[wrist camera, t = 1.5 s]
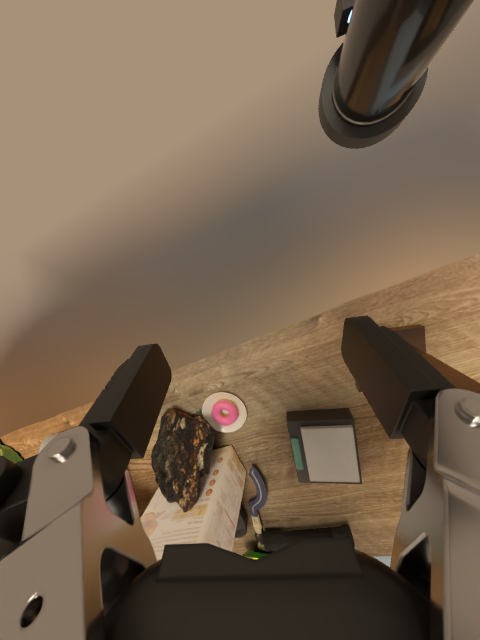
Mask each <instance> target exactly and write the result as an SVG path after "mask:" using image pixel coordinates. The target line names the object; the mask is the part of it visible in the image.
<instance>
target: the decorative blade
mask: <svg viewBox="0 0 480 640" xmlns="http://www.w3.org/2000/svg"><path fill="white" fill-rule="evenodd" d="M248 475H249V476H250V477H251V478H252V479H253V480H254V483H255V485H256V489H257V497H256V498H255V499H253V500H249V507H250V512H251V518H252V522H253V524H252V525H253V527H254V529H255V536H256V539H257V542H258V545H257V546H258V548H259V549H261V550H263V551H266V550H265V548H264V544H263V534H262V530H261V529H262V525H261V523H260V518H259V514H258V511H257V509H258V510H260V509H261V508H262V507H263V506H264V505H265V503H266V500H267V491H266V487H265V484H264V482H263V479H262V477H261V476H260V474H259V472H258V471H257V470H256V469H255V468H254V466H252V468H251V470H250V472H249V474H248Z"/></svg>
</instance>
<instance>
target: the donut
mask: <svg viewBox="0 0 480 640" xmlns="http://www.w3.org/2000/svg"><path fill="white" fill-rule="evenodd" d="M199 411H200V410H198V412H199ZM192 413H196V412H192ZM202 415H203V418H204V419H206V420H207V421H208V423H209V424H210V425H211V426H212V427H213V428H214V430H216V431H219V432H224V433H228V432H234V431H236V430H238V429H239V428H241V427H242V426H243V424H244V423H245V421H246V417H247V412H246V408H245V405H244V404H243V402H242V401H241V400H240V399H239V398H238V397H236V396H235V395H233V394H230V393H225V392H218V393H214V394H212V395H210V396H209V397H208V398H207V399H206V400H205V401H204V403H203V406H202Z"/></svg>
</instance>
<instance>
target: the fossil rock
mask: <svg viewBox="0 0 480 640" xmlns="http://www.w3.org/2000/svg"><path fill="white" fill-rule="evenodd" d="M215 432H216V431H215V430H214V428H213V427H212V426H211V425H210V424H209V423H208V421H207V420H206V419H202V418H201V417H200V416H196V417H192V416H189V415H188V414H185V413H182V412H180V411H179V410H176V409H174V408H169V409H167V410H166V412H165V413H164V415H163V416H162V418H161V424H160V430H159V434H158V440H157V442H156V444H155V445H154V447H153V450H152V456H151V458H152V468H153V470H154V472H155V473H156V474H155V476H156V482H157V484H158V486H159V488H160V491H161V493H162V494H163V496H164V497H165V498H166V500H167V502H169V503H173V502H177V503H178V504H179V505H180V507H181V509H182V510H183V512H187V511H190V510H191V509H192V508H193V506H194V505H195V504H196V503H197V501H198V499H199V495H200V477H203V476H204V475H205V474H206V475H208V474H209V473H210V461H211V452H212V448H213V443H214V439H215Z"/></svg>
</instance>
